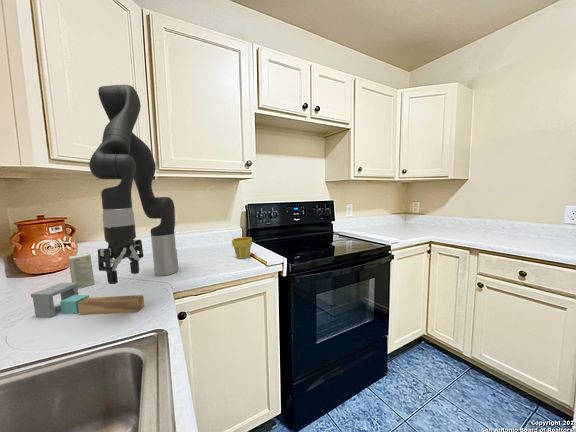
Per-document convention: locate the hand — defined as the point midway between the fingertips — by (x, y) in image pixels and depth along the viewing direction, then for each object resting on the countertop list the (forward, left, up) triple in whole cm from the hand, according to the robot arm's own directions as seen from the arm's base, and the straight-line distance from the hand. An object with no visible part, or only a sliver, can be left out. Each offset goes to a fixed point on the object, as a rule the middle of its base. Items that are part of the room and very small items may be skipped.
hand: (124, 278), depth 73 cm
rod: (0, -5, -11) cm, 12 cm away
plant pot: (-58, +19, -10) cm, 62 cm away
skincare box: (-19, -34, -10) cm, 40 cm away
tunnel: (0, -23, -10) cm, 25 cm away
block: (0, -17, -10) cm, 20 cm away
